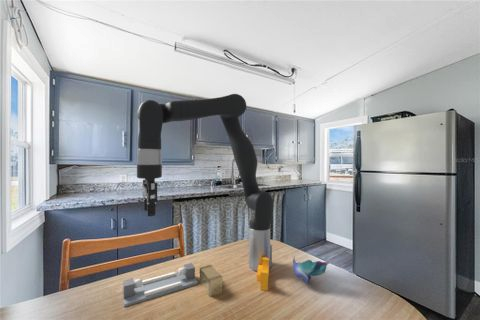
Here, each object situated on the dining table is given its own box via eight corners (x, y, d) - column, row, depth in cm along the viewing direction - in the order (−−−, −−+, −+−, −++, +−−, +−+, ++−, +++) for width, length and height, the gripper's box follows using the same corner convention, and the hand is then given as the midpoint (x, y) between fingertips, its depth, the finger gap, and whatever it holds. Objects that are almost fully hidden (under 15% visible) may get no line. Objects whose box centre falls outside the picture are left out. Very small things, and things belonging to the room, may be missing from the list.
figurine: (332, 284, 78) (332, 260, 78) (315, 297, 71) (315, 270, 71) (302, 270, 88) (302, 249, 88) (284, 280, 81) (284, 257, 81)
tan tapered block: (199, 282, 79) (199, 267, 79) (210, 278, 82) (210, 264, 82) (210, 296, 71) (210, 280, 71) (222, 292, 73) (222, 276, 73)
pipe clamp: (258, 272, 87) (258, 256, 87) (268, 273, 86) (269, 257, 86) (255, 289, 75) (255, 271, 75) (267, 291, 74) (267, 273, 74)
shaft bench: (189, 271, 86) (189, 259, 86) (197, 284, 78) (197, 270, 78) (122, 290, 74) (123, 276, 74) (124, 307, 65) (124, 291, 65)
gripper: (166, 163, 64) (165, 216, 64) (157, 163, 76) (157, 207, 76) (139, 163, 60) (138, 220, 60) (134, 163, 72) (134, 209, 72)
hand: (149, 212), depth 68 cm, fingers open, 8 cm apart
